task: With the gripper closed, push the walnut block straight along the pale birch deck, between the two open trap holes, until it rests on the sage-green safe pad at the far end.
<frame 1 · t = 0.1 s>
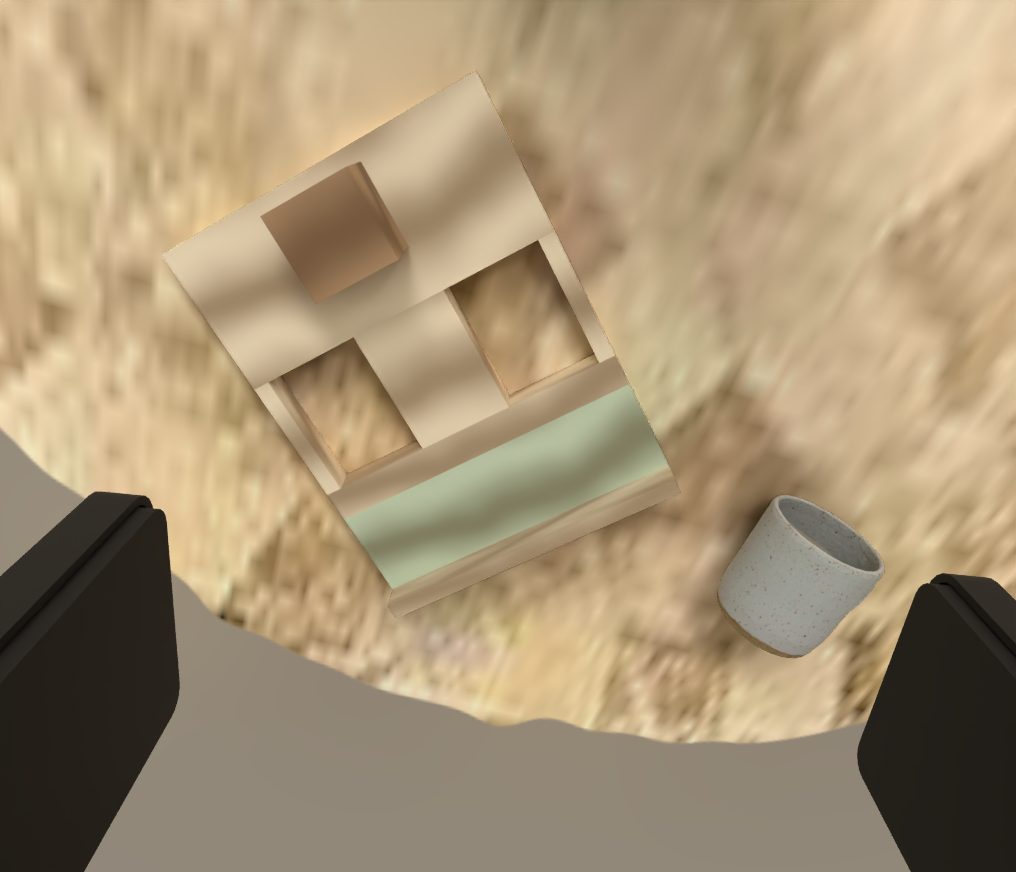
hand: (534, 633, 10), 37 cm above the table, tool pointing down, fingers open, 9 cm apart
ceramic mug: (793, 549, 53), on the table
walnut block: (346, 226, 42), point 2 cm above the table, touching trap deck
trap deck: (435, 362, 47), on the table
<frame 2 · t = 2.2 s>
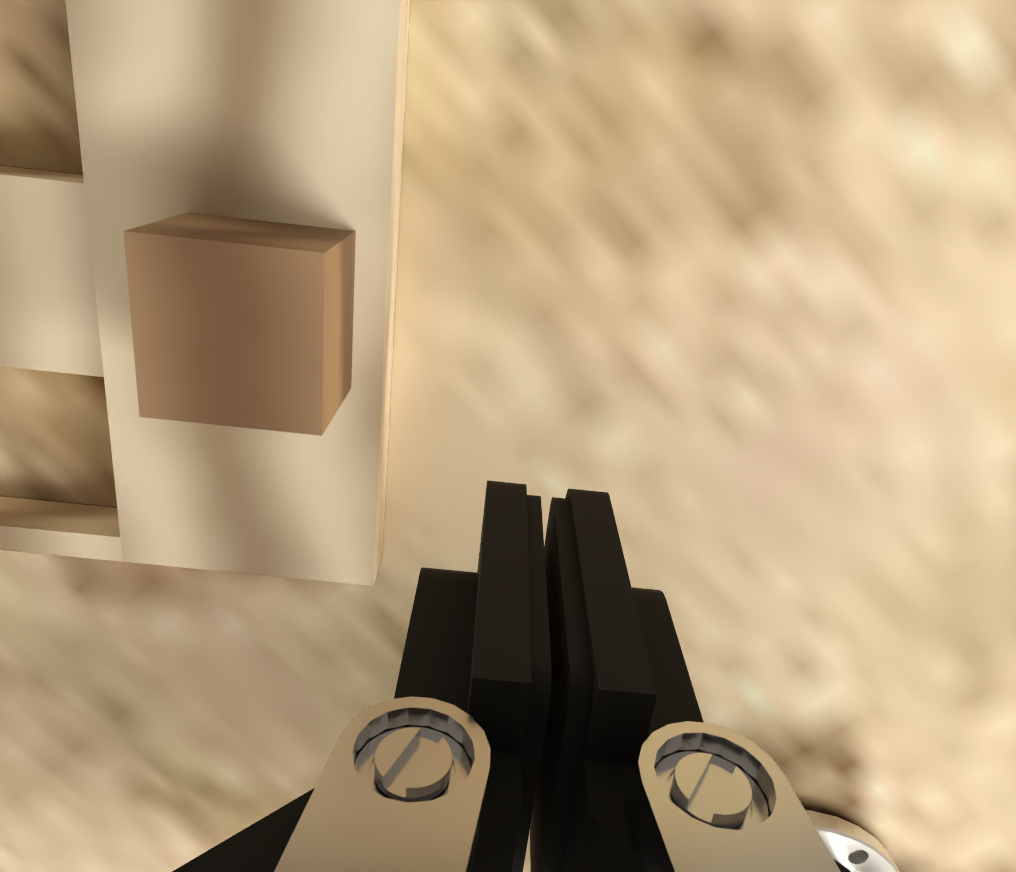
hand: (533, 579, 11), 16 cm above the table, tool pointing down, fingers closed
walnut block: (273, 304, 24), point 2 cm above the table, touching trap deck
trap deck: (3, 259, 25), on the table
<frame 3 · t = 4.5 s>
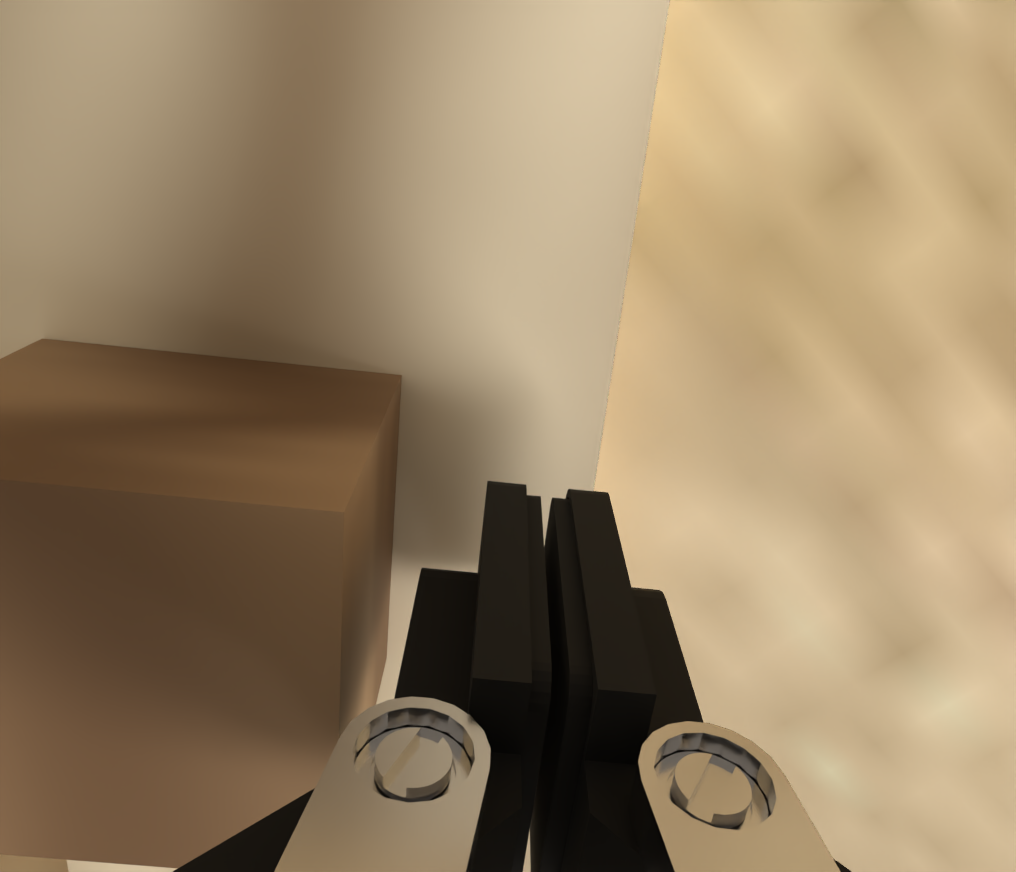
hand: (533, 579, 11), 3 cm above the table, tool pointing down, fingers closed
walnut block: (230, 513, 12), point 2 cm above the table, touching gripper
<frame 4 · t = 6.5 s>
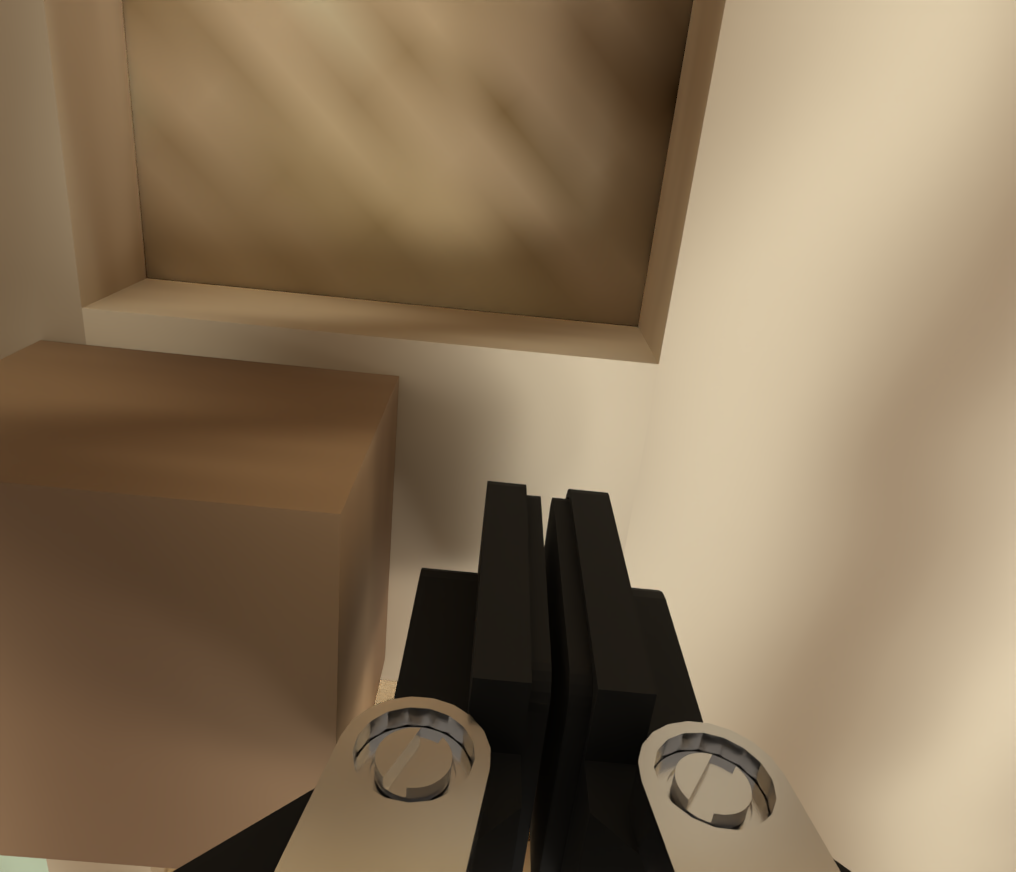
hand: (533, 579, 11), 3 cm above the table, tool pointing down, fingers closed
walnut block: (228, 513, 12), point 2 cm above the table, touching gripper
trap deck: (387, 468, 14), on the table
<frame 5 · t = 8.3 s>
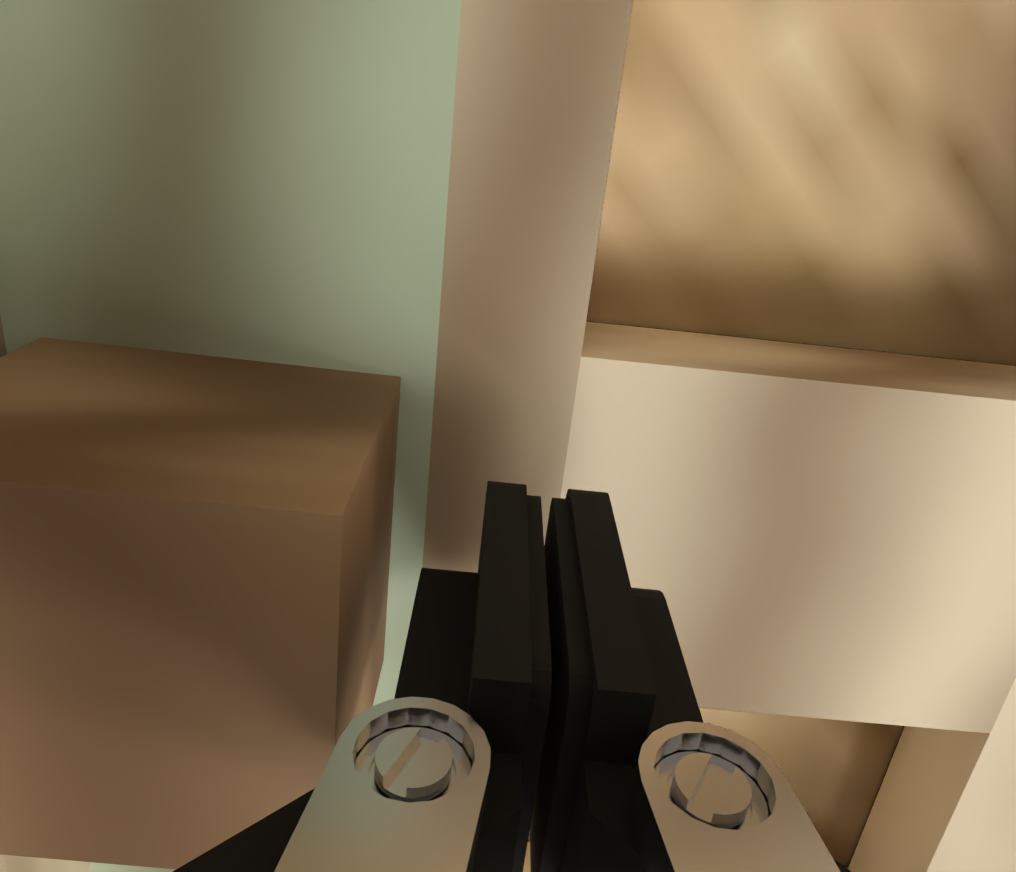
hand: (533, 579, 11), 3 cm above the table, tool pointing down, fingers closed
walnut block: (228, 513, 12), point 2 cm above the table, touching gripper
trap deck: (769, 504, 14), on the table
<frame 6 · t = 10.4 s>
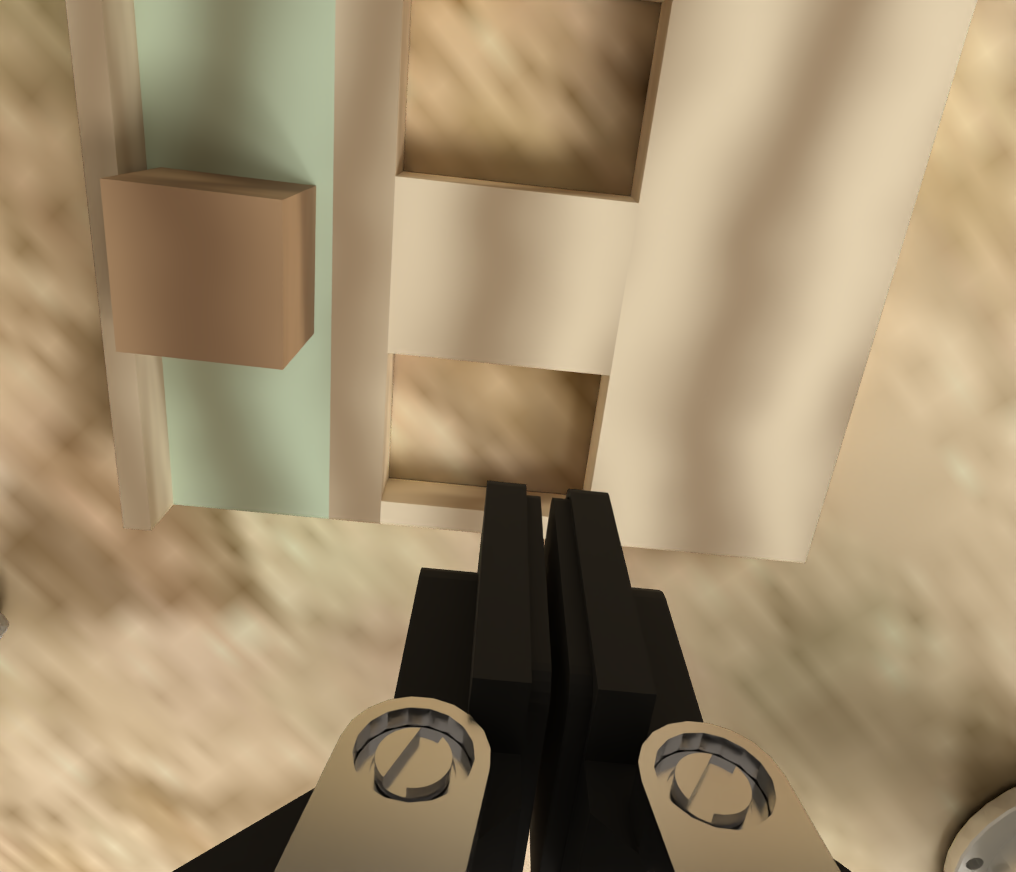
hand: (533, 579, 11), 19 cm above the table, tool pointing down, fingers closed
walnut block: (240, 253, 26), point 2 cm above the table, touching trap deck
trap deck: (508, 269, 28), on the table
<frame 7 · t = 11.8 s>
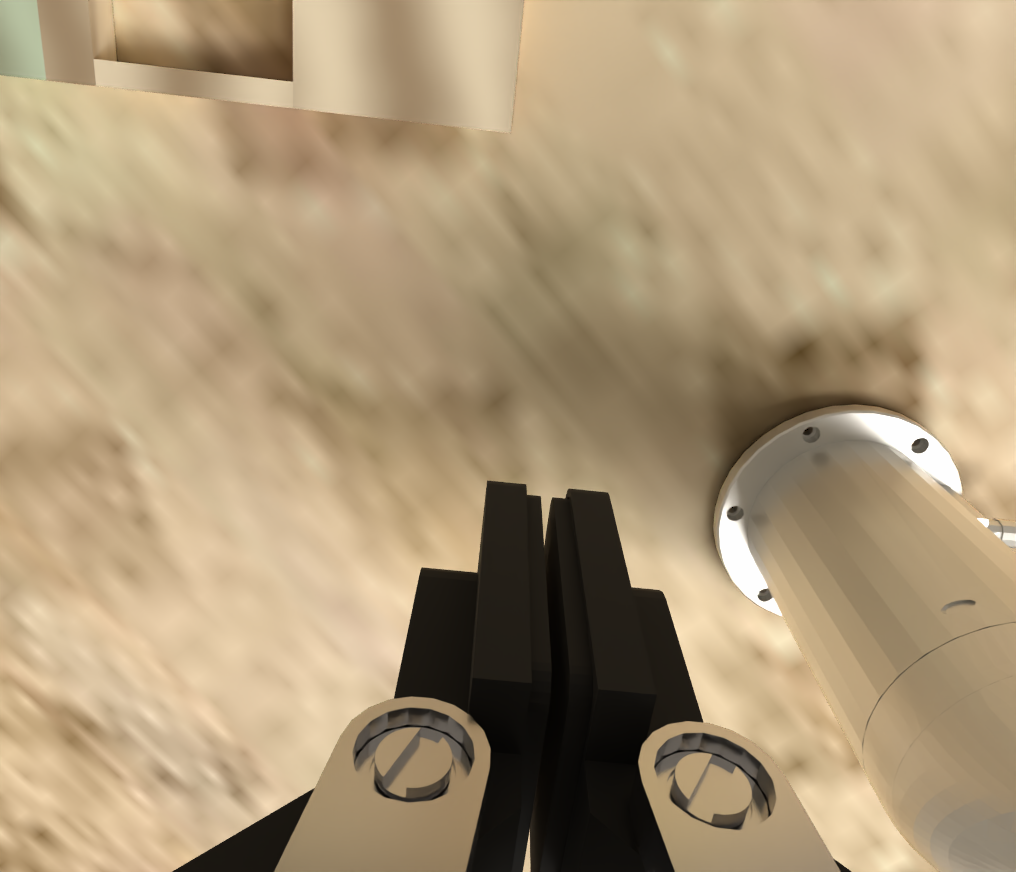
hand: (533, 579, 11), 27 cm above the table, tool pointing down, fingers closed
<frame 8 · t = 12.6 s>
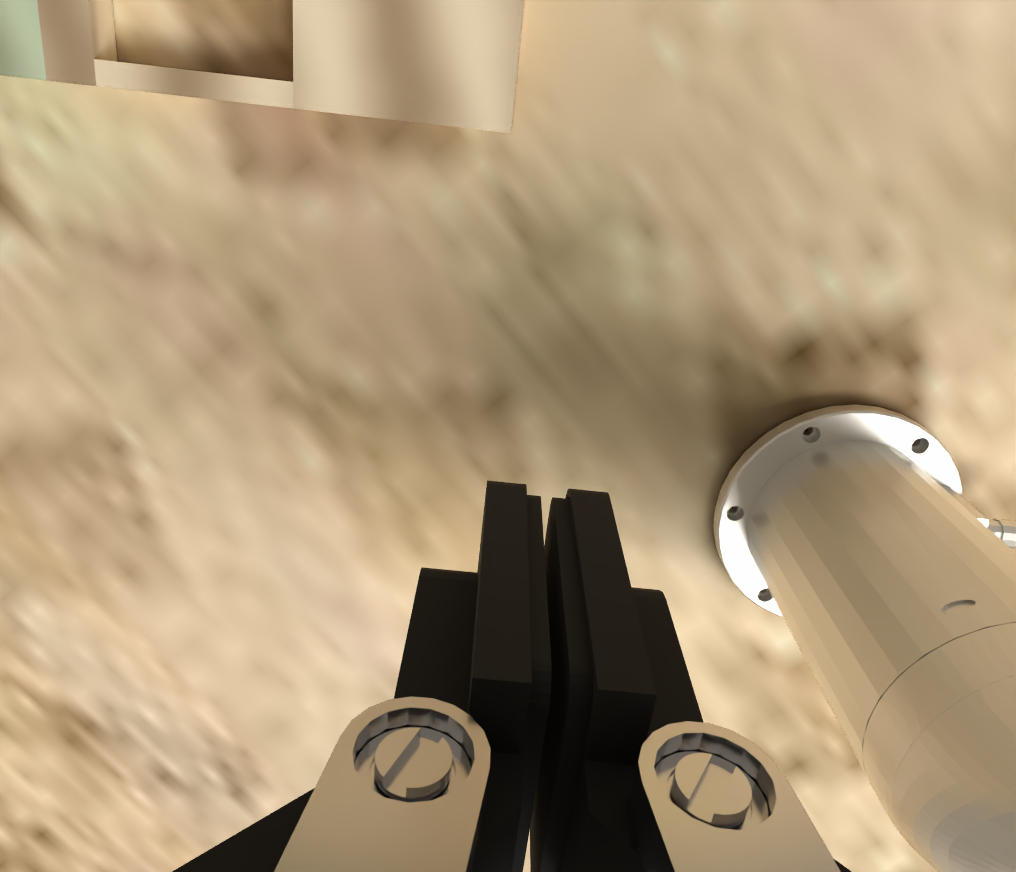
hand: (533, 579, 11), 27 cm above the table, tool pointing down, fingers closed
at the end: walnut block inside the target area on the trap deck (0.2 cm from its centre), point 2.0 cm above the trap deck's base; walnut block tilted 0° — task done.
